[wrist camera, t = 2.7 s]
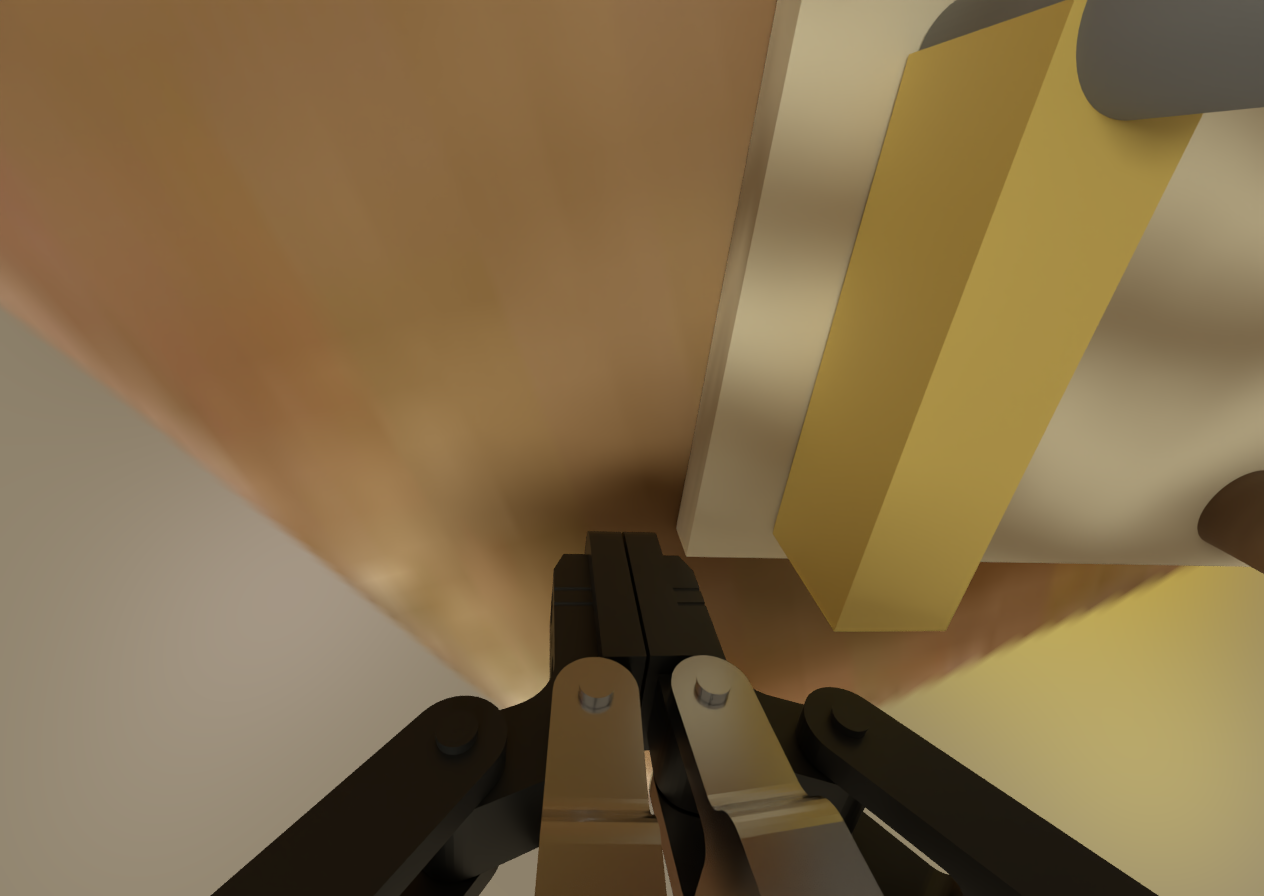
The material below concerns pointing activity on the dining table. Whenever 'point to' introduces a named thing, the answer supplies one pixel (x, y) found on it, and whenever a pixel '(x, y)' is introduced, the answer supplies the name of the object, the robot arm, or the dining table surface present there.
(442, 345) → the dining table surface
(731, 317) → the seat board
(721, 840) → the robot arm
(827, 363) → the bar
